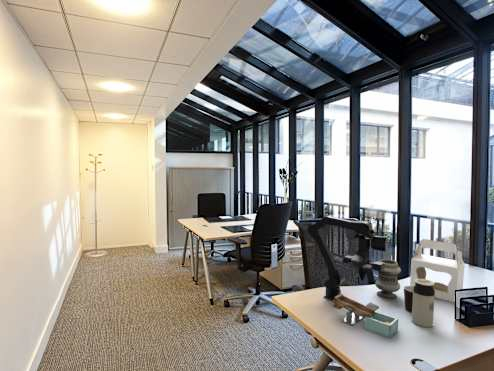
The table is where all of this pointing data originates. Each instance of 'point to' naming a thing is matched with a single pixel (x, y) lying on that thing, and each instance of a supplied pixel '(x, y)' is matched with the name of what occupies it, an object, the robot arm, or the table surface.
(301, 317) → the table surface
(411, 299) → the coffee mug
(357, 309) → the lever
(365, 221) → the robot arm
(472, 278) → the table surface
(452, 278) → the gable box
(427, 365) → the table surface
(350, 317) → the fulcrum
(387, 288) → the apothecary jar
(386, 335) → the bin
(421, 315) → the travel mug
